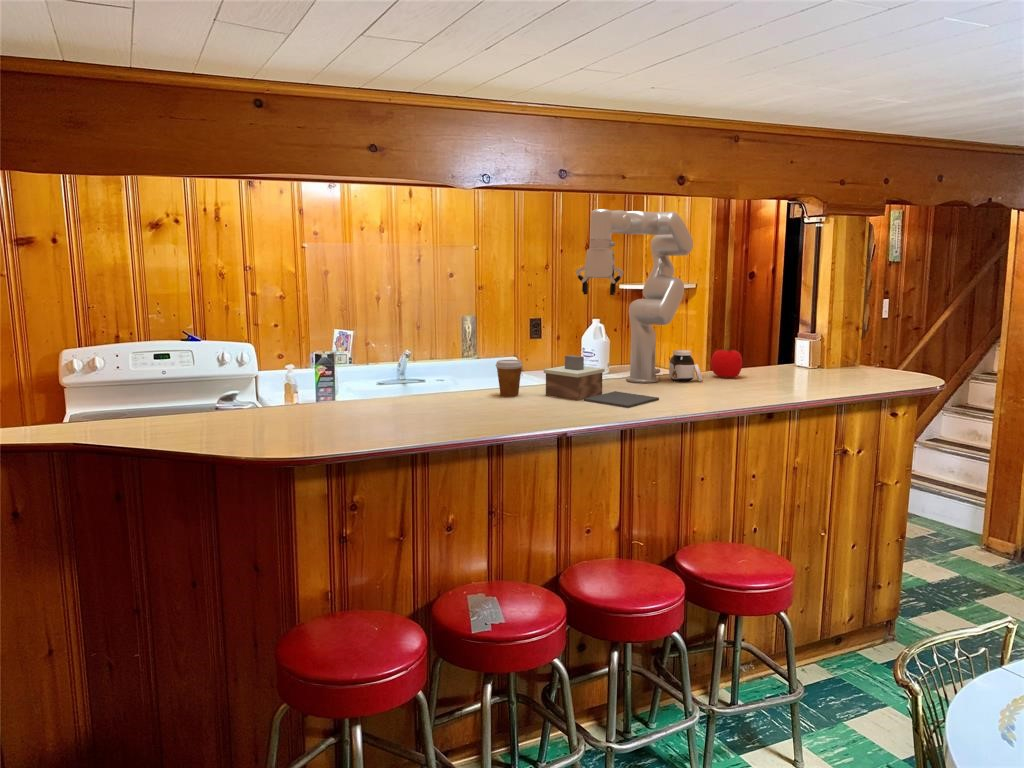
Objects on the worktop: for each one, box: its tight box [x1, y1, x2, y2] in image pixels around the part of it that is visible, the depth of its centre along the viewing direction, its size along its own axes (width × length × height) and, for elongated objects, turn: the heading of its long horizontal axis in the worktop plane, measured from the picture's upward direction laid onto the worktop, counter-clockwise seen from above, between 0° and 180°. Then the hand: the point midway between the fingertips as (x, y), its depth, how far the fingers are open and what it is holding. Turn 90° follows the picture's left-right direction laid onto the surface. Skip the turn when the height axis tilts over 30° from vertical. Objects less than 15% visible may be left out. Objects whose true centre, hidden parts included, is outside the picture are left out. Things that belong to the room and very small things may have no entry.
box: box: [545, 373, 603, 401], centre depth 257 cm, size 14×14×8 cm
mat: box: [583, 390, 660, 409], centre depth 247 cm, size 18×18×1 cm
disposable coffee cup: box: [495, 359, 523, 398], centre depth 257 cm, size 10×10×12 cm
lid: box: [543, 354, 605, 377], centre depth 256 cm, size 15×15×7 cm
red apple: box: [710, 348, 743, 379], centre depth 292 cm, size 12×13×12 cm
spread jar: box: [668, 349, 704, 383], centre depth 284 cm, size 12×11×12 cm
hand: (598, 294), depth 260 cm, fingers open, 9 cm apart
